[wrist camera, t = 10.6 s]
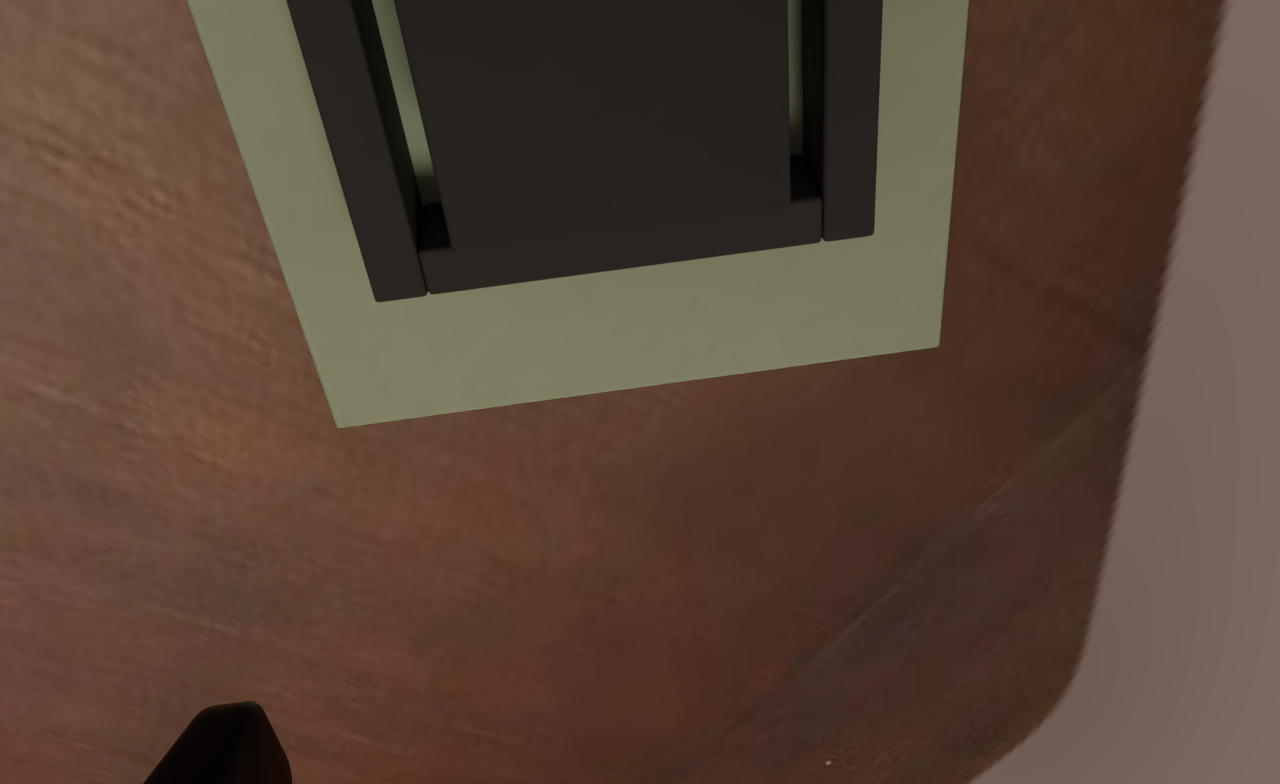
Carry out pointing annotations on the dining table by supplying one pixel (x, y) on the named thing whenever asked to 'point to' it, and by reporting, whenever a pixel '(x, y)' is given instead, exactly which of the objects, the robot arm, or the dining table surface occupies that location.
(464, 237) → the black rectangular block
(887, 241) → the base pad
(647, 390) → the dining table surface
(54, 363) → the dining table surface
